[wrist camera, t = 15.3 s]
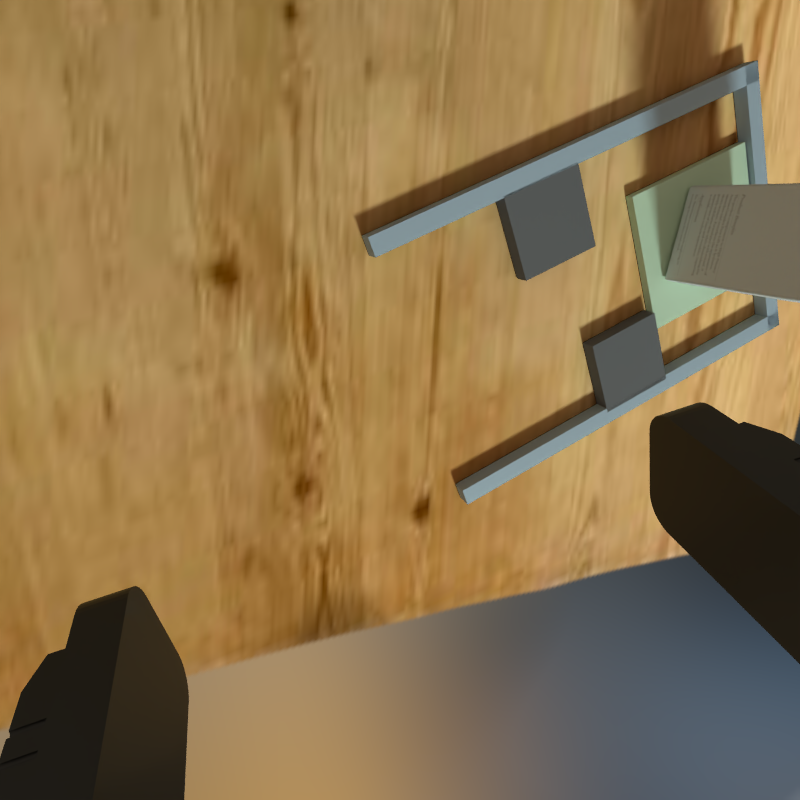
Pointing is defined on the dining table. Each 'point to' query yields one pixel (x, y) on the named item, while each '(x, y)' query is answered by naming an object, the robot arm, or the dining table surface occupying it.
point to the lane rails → (495, 188)
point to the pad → (676, 229)
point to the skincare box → (740, 240)
